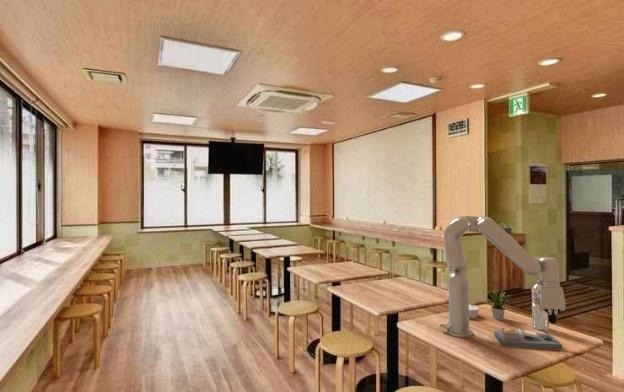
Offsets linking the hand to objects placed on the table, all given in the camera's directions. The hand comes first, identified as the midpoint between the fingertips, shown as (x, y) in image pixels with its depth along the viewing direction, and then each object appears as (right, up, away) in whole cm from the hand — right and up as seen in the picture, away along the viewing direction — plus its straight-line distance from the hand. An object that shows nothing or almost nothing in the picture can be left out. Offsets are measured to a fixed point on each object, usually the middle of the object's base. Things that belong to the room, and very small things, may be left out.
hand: (552, 322), depth 165 cm
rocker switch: (-10, -7, +2) cm, 12 cm away
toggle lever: (-3, -6, +1) cm, 7 cm away
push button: (-18, -8, +4) cm, 20 cm away
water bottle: (+7, -10, +19) cm, 23 cm away
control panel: (-11, -11, +2) cm, 15 cm away
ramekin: (-21, -11, +41) cm, 47 cm away
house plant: (-8, -10, +34) cm, 36 cm away
